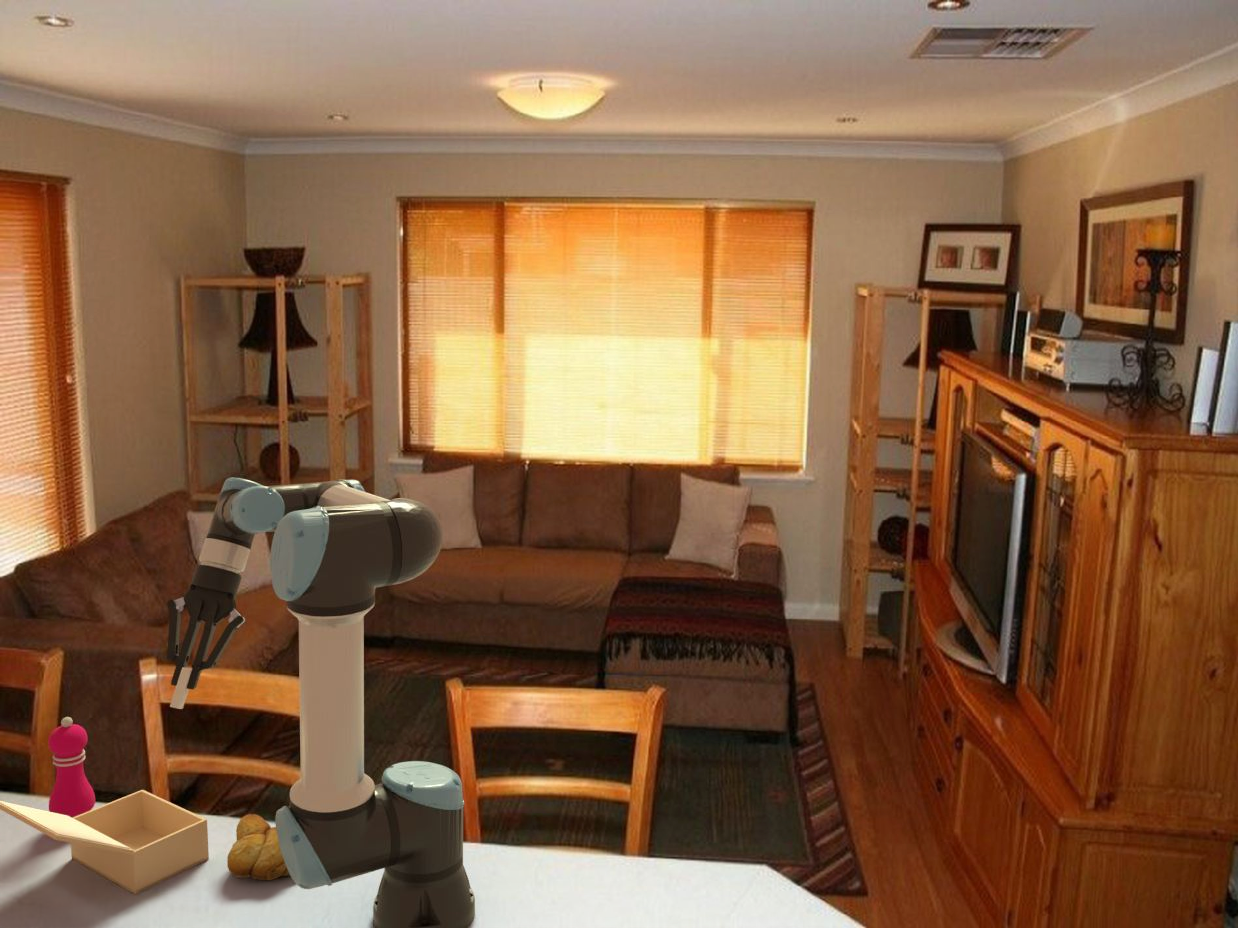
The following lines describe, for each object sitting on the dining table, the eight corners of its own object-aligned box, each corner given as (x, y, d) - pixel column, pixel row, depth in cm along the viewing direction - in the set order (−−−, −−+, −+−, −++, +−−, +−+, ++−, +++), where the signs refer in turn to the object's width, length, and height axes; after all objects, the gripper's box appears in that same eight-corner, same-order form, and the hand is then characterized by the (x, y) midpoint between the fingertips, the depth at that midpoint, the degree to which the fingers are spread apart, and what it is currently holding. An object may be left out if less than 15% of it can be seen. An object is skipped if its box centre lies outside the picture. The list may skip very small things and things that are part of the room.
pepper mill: (105, 818, 191) (99, 711, 188) (78, 838, 184) (71, 727, 181) (69, 814, 192) (61, 707, 189) (40, 834, 185) (32, 723, 182)
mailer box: (208, 858, 178) (207, 819, 177) (135, 894, 168) (133, 852, 167) (144, 827, 188) (142, 789, 187) (71, 858, 178) (69, 818, 176)
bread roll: (319, 860, 179) (317, 815, 177) (290, 892, 169) (288, 844, 168) (247, 851, 181) (246, 806, 180) (215, 882, 172) (213, 835, 170)
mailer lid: (57, 834, 156) (55, 839, 155) (134, 849, 166) (132, 854, 166) (-9, 798, 166) (-11, 803, 166) (68, 814, 177) (66, 819, 176)
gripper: (262, 580, 188) (220, 716, 182) (186, 562, 187) (142, 699, 181) (255, 574, 181) (211, 716, 175) (176, 556, 179) (129, 698, 173)
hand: (176, 707), depth 178 cm, fingers closed
